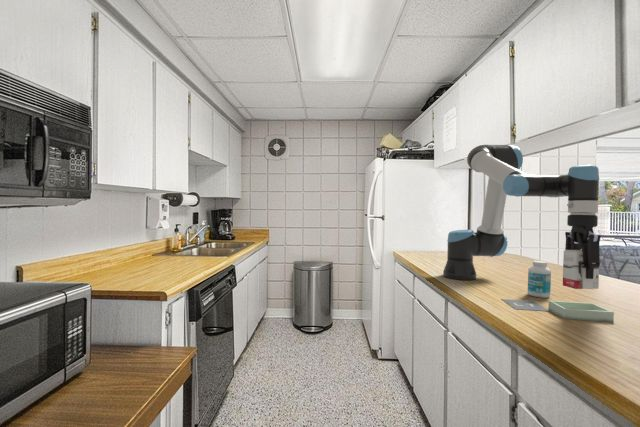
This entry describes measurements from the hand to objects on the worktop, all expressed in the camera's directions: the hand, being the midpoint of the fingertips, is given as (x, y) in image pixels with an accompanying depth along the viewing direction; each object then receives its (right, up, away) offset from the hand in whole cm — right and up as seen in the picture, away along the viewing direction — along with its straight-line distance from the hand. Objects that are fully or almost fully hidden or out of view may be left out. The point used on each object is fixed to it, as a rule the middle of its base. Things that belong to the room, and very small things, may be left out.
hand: (580, 286), depth 104 cm
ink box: (0, -1, 0) cm, 1 cm away
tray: (0, -9, 0) cm, 9 cm away
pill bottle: (+3, -9, +24) cm, 25 cm away
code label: (-11, -9, +11) cm, 18 cm away
